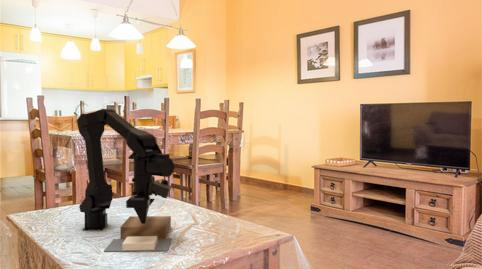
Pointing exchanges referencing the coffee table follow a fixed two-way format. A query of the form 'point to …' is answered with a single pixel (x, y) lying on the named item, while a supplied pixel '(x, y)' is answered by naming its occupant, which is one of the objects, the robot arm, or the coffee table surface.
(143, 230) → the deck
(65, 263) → the coffee table surface
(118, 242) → the mat
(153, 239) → the cream rectangular block
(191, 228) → the coffee table surface
